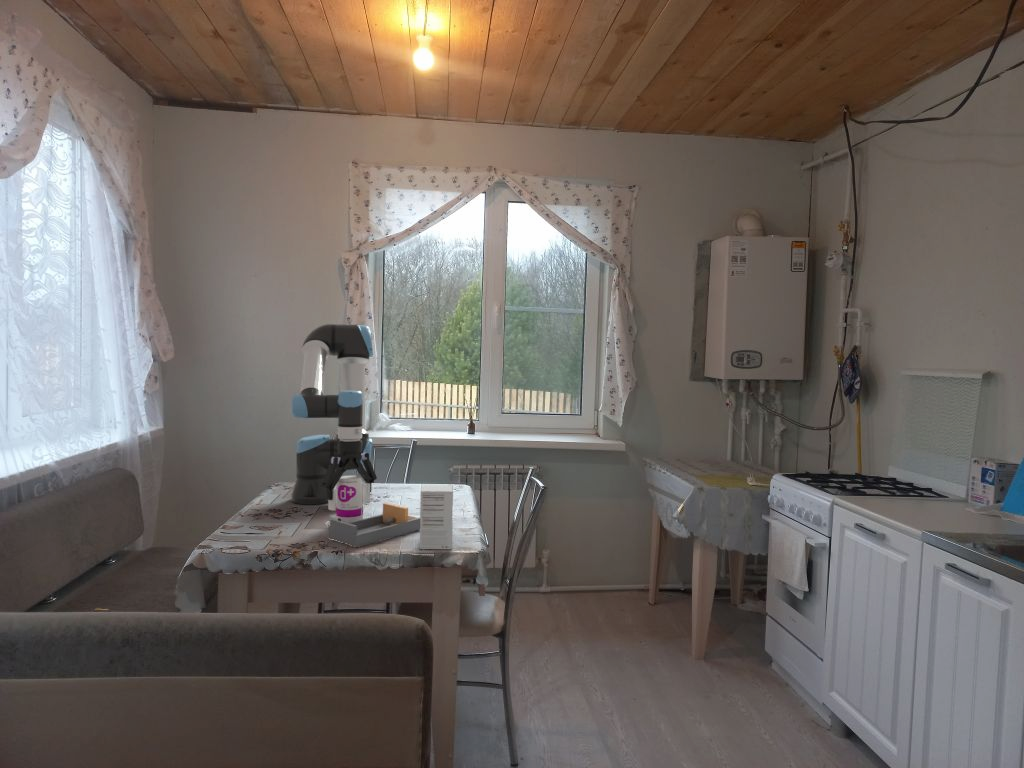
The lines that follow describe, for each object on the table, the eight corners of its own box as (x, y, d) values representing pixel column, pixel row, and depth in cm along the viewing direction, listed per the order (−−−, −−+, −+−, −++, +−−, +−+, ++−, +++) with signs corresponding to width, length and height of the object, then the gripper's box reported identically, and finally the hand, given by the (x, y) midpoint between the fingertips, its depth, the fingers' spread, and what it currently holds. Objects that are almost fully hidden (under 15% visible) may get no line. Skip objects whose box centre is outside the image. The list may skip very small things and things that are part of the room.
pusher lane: (328, 539, 199) (328, 519, 199) (394, 521, 220) (394, 503, 220) (356, 547, 192) (356, 526, 191) (421, 528, 212) (422, 510, 212)
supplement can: (356, 528, 212) (356, 480, 211) (331, 526, 213) (331, 478, 212) (366, 521, 220) (367, 475, 219) (343, 519, 221) (343, 474, 220)
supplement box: (420, 540, 201) (421, 483, 200) (452, 540, 202) (453, 483, 200) (419, 550, 191) (420, 490, 190) (452, 550, 192) (453, 490, 191)
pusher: (375, 524, 212) (375, 505, 212) (385, 521, 215) (385, 502, 215) (397, 530, 206) (398, 510, 206) (407, 527, 209) (408, 508, 209)
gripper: (325, 444, 203) (324, 515, 204) (387, 437, 222) (387, 501, 223) (309, 442, 207) (309, 511, 208) (372, 435, 227) (371, 498, 228)
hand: (349, 506), depth 216 cm, fingers open, 13 cm apart
